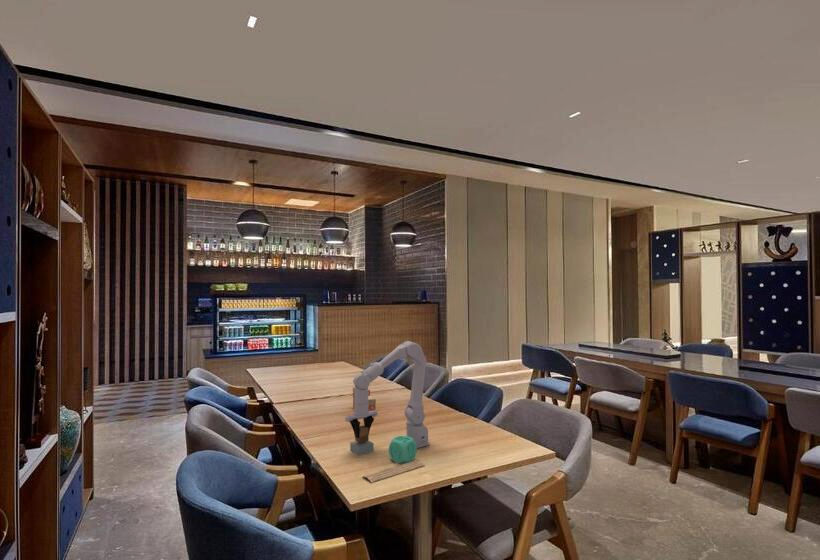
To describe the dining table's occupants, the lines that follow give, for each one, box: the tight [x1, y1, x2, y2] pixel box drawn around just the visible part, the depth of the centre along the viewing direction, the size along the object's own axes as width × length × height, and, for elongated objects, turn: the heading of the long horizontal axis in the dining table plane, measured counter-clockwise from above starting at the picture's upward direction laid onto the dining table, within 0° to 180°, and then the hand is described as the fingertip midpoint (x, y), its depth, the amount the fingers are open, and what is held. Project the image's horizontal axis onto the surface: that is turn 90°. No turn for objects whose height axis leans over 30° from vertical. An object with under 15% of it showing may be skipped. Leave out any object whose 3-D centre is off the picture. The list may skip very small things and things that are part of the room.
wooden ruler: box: [361, 459, 425, 484], centre depth 155 cm, size 24×7×2 cm, turn 127°
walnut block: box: [354, 424, 369, 443], centre depth 177 cm, size 4×4×6 cm
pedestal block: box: [349, 440, 375, 456], centre depth 177 cm, size 7×7×4 cm
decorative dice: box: [388, 435, 418, 465], centre depth 167 cm, size 8×8×8 cm
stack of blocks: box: [352, 386, 377, 411], centre depth 237 cm, size 21×6×12 cm, turn 25°
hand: (361, 436), depth 177 cm, fingers open, 4 cm apart
